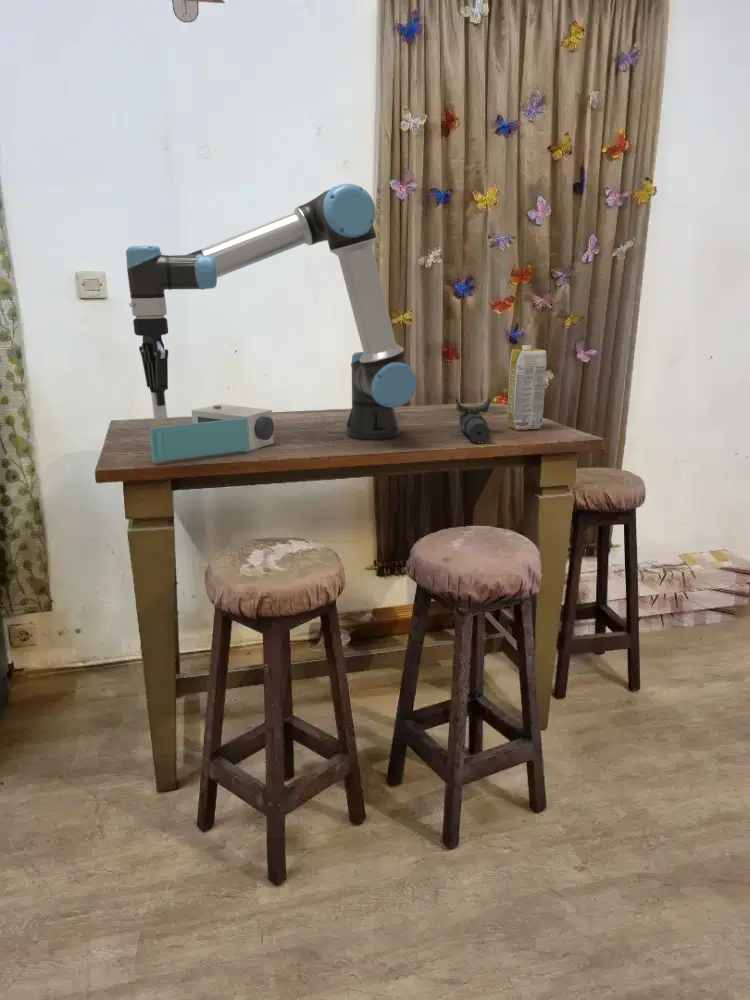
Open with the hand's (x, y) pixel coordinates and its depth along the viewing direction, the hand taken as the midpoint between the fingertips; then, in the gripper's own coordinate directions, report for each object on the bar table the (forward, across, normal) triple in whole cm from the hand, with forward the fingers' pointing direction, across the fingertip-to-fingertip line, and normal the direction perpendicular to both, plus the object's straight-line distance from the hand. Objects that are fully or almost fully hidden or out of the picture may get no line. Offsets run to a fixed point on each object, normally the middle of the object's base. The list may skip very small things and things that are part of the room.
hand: (160, 418), depth 174 cm
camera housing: (+11, -7, +21) cm, 25 cm away
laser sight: (+12, +22, +81) cm, 85 cm away
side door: (+10, +4, +8) cm, 13 cm away
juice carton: (+12, +24, +100) cm, 103 cm away
